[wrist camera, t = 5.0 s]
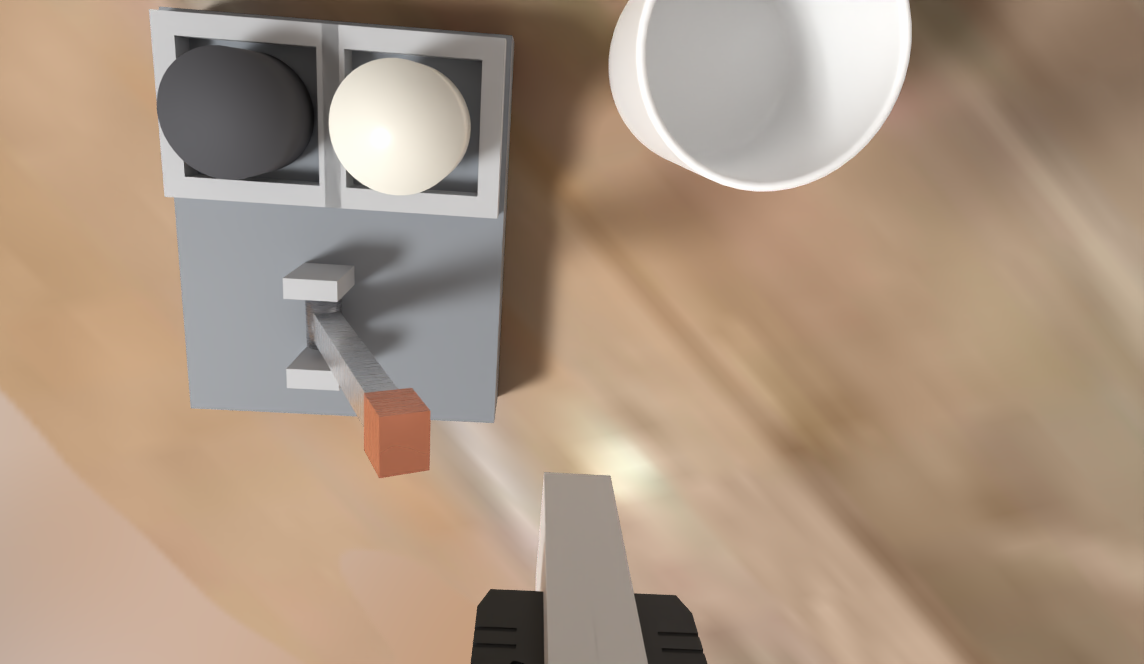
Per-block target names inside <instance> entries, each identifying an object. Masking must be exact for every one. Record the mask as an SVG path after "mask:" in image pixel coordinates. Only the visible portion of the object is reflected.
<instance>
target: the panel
mask: <svg viewBox="0 0 1144 664" xmlns="http://www.w3.org/2000/svg"><path fill="white" fill-rule="evenodd" d="M149 14H150V26H151V38H152V50H153V62H154V74H155V86H156V98H157V93H158V89H159V85H160V82H161V80H162V77H163V75H164V73H165V72H166V70H167V68H168V67H169V66H170V65H171V64H172V62H173V61H175V60H176V59H177V58H178V57H179V56H181V55H182V54H184V53H185V52H187V51H189V50H192V49H194V48H198V47H201V46H208V45H221V46H228V47H234V48H240V49H246V50H251V51H257V52H262V53H265V54H269V55H271V56H273V57H276V58H277V59H279V60H281V61H283V62H284V63H285V64H287V65H288V66H289V67H290V68H292V69H293V70H294V71H295V72H296V73H297V75H298V76H299V77H300V78H301V80H302V81H303V83H304V84H305V86H306V88H307V90H308V92H309V94H310V97H311V100H312V104H313V108H314V128H313V133H312V136H311V140H310V142H309V144H308V146H307V147H306V149H305V150H304V152H303V153H302V154H301V155H300V157H299V158H297V159H296V160H295V161H294V162H293V163H291V164H289V165H288V166H286V167H283V168H281V169H278V170H274V171H271V172H267V173H263V174H260V175H256V176H252V177H248V178H245V179H238V180H226V179H219V178H215V177H211V176H208V175H206V174H203V173H201V172H199V171H197V170H196V169H194V168H192V167H191V166H190V165H188V164H187V163H186V162H184V161H183V160H182V159H181V158H180V157H179V156H178V155H177V154H176V153H175V151H174V150H173V149H172V147H171V146H170V145H169V143H168V141H167V140H166V138H165V136H164V134H163V132H162V129H161V127H160V123H159V119H158V123H159V135H160V147H161V159H162V171H163V183H164V195H165V197H174V202H175V214H176V227H177V240H178V252H179V265H180V277H181V290H182V302H183V315H184V328H185V340H186V353H187V365H188V378H189V390H190V403H191V408H199V409H219V410H239V411H260V412H280V413H300V414H321V415H341V416H357V415H356V413H355V411H354V410H353V408H352V406H351V404H350V403H349V401H348V399H347V398H346V396H345V394H344V392H343V391H342V389H341V387H340V385H339V384H338V382H337V380H336V379H335V377H334V375H333V373H332V372H331V370H330V368H329V367H328V365H327V363H326V361H325V360H324V358H323V356H322V354H321V353H320V351H319V350H314V349H310V348H308V347H307V343H306V311H305V300H312V301H329V302H338V301H339V300H340V299H342V315H343V317H344V318H345V319H346V321H347V322H348V323H349V325H350V326H351V327H352V329H353V330H354V331H355V332H356V334H357V335H358V336H359V338H360V339H361V340H362V342H363V343H364V344H365V346H366V347H367V348H368V350H369V351H370V352H371V354H372V355H373V356H374V358H375V359H376V360H377V361H378V363H379V364H380V365H381V367H382V368H383V369H384V371H385V372H386V373H387V375H388V376H389V377H390V379H391V380H392V381H393V383H394V384H395V385H396V387H397V388H398V389H405V388H413V390H414V391H415V392H416V393H417V395H418V396H419V397H420V398H421V400H422V401H423V402H424V403H425V405H426V406H427V407H428V408H429V410H430V411H431V414H430V420H443V421H463V422H484V423H494V419H495V412H496V404H497V396H498V375H499V354H500V333H501V312H502V291H503V270H504V249H505V228H506V207H507V186H508V165H509V144H510V123H511V102H512V81H513V60H514V39H513V37H512V35H500V34H487V33H475V32H463V31H451V30H438V29H426V28H414V27H402V26H389V25H377V24H365V23H352V22H340V21H328V20H316V19H303V18H291V17H279V16H267V15H254V14H242V13H230V12H218V11H205V10H193V9H181V8H169V7H159V10H152V9H149ZM382 58H401V59H407V60H410V61H414V62H417V63H420V64H423V65H427V66H429V67H431V68H434V69H436V70H437V71H439V72H441V73H442V74H444V75H445V76H446V77H447V78H449V79H450V80H451V81H452V82H453V83H454V85H455V86H456V87H457V88H458V90H459V91H460V93H461V94H462V96H463V98H464V100H465V102H466V105H467V108H468V111H469V115H470V122H471V133H470V140H469V144H468V147H467V150H466V153H465V155H464V157H463V158H462V160H461V161H460V163H459V164H458V166H457V167H456V168H455V169H454V170H453V171H452V172H451V173H450V174H448V175H447V176H446V177H445V178H444V179H442V180H441V181H440V182H439V183H437V184H436V185H434V186H433V187H431V188H429V189H427V190H425V191H422V192H420V193H416V194H411V195H389V194H385V193H381V192H378V191H375V190H373V189H370V188H369V187H367V186H365V185H363V184H362V183H360V182H359V181H358V180H356V179H355V178H354V177H353V176H352V175H351V174H350V173H349V172H348V171H347V170H346V169H345V167H344V166H343V165H342V163H341V162H340V160H339V159H338V157H337V155H336V153H335V150H334V148H333V145H332V142H331V138H330V133H329V112H330V106H331V103H332V100H333V97H334V95H335V93H336V90H337V89H338V87H339V86H340V84H341V83H342V81H343V80H344V79H345V78H346V77H347V76H348V75H349V74H350V73H351V72H352V71H353V70H355V69H356V68H358V67H359V66H361V65H363V64H365V63H368V62H370V61H373V60H377V59H382Z"/></svg>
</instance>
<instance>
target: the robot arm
mask: <svg viewBox="0 0 1144 664" xmlns="http://www.w3.org/2000/svg"><path fill="white" fill-rule="evenodd" d="M471 664H707V661H706V658H705V655H704V654H703V648H702V645H701V641H700V638H699V637H698V632H697V628H696V625H695V622H694V619H693V615H692V613H691V612H690V611H689V610H688V608H687V607H686V606H685V605H684V604H683V603H682V602H681V601H680V599H679V598H678V597H677V596H676V595H656V594H634V592H633V587H632V582H631V577H630V572H629V567H628V562H627V557H626V551H625V546H624V541H623V536H622V531H621V526H620V521H619V516H618V511H617V506H616V501H615V496H614V491H613V486H612V481H611V476H606V475H588V474H569V473H550V472H544V481H543V493H542V506H541V518H540V531H539V543H538V556H537V569H536V591H520V590H497V589H490V591H489V592H488V593H487V595H486V596H485V597H484V598H483V600H482V601H481V602H480V604H479V605H478V606H477V615H476V623H475V632H474V640H473V648H472V657H471Z"/></svg>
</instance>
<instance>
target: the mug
mask: <svg viewBox="0 0 1144 664" xmlns="http://www.w3.org/2000/svg"><path fill="white" fill-rule="evenodd" d="M911 42H912V21H911V13H910V5H909V0H629V1H628V3H627V4H626V6H625V8H624V10H623V11H622V13H621V15H620V17H619V20H618V22H617V25H616V27H615V30H614V33H613V37H612V41H611V45H610V53H609V80H610V87H611V91H612V95H613V99H614V102H615V104H616V107H617V109H618V112H619V113H620V115H621V117H622V119H623V121H624V123H625V124H626V125H627V127H628V128H629V129H630V131H631V132H632V134H633V135H634V136H635V137H636V138H637V139H638V140H639V141H640V142H641V143H642V144H643V145H645V146H646V147H647V148H648V149H650V150H651V151H652V152H654V153H656V154H657V155H659V156H661V157H662V158H664V159H666V160H669V161H671V162H673V163H675V164H677V165H679V166H682V167H684V168H686V169H688V170H690V171H692V172H695V173H697V174H699V175H701V176H703V177H705V178H708V179H710V180H712V181H715V182H717V183H720V184H722V185H725V186H729V187H733V188H736V189H741V190H749V191H778V190H785V189H791V188H794V187H798V186H802V185H805V184H808V183H811V182H813V181H815V180H818V179H820V178H822V177H824V176H826V175H828V174H830V173H831V172H833V171H835V170H837V169H838V168H840V167H841V166H842V165H844V164H845V163H846V162H848V161H849V160H850V159H852V158H853V157H854V156H855V155H856V154H857V153H858V152H860V151H861V150H862V149H863V148H864V147H865V146H866V145H867V144H868V143H869V141H870V140H871V139H872V138H873V137H874V135H875V134H876V133H877V132H878V131H879V129H880V128H881V126H882V125H883V123H884V122H885V120H886V119H887V117H888V116H889V114H890V112H891V110H892V108H893V106H894V104H895V102H896V100H897V98H898V96H899V93H900V91H901V88H902V85H903V83H904V80H905V76H906V72H907V68H908V64H909V59H910V51H911Z"/></svg>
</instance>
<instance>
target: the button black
mask: <svg viewBox="0 0 1144 664" xmlns="http://www.w3.org/2000/svg"><path fill="white" fill-rule="evenodd" d="M157 114H158V119H159V123H160V127H161V129H162V132H163V134H164V136H165V138H166V140H167V141H168V143H169V145H170V146H171V147H172V149H173V150H174V151H175V153H176V154H177V155H178V156H179V157H180V158H181V159H182V160H183V161H184V162H186V163H187V164H188V165H190V166H191V167H192V168H194V169H196V170H197V171H199V172H201V173H203V174H206V175H208V176H211V177H215V178H219V179H226V180H238V179H245V178H248V177H252V176H256V175H260V174H263V173H267V172H271V171H274V170H278V169H281V168H283V167H286V166H288V165H289V164H291V163H293V162H294V161H295V160H296V159H297V158H299V157H300V155H301V154H302V153H303V152H304V150H305V149H306V147H307V146H308V144H309V142H310V140H311V136H312V133H313V128H314V108H313V104H312V100H311V97H310V94H309V92H308V90H307V88H306V86H305V84H304V83H303V81H302V80H301V78H300V77H299V76H298V75H297V73H296V72H295V71H294V70H293V69H292V68H290V67H289V66H288V65H287V64H285V63H284V62H283V61H281V60H279V59H277V58H276V57H273V56H271V55H269V54H265V53H262V52H257V51H251V50H246V49H240V48H234V47H228V46H221V45H208V46H201V47H198V48H194V49H192V50H189V51H187V52H185V53H184V54H182V55H181V56H179V57H178V58H177V59H176V60H175V61H173V62H172V64H171V65H170V66H169V67H168V68H167V70H166V72H165V73H164V75H163V77H162V80H161V82H160V85H159V89H158V93H157Z"/></svg>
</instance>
